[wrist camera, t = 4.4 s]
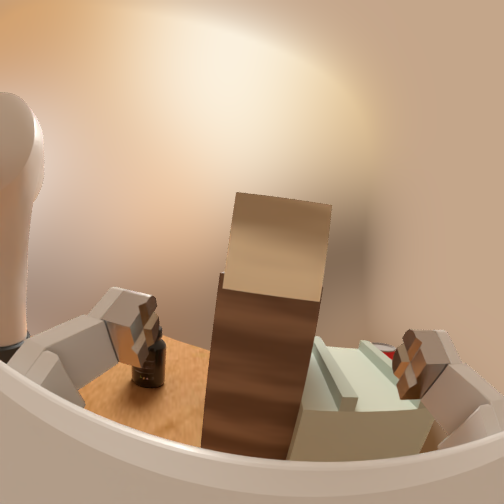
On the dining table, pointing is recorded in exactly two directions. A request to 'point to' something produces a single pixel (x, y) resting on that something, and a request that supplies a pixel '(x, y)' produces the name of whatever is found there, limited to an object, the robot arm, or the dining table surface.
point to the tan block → (277, 246)
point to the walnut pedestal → (257, 372)
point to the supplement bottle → (152, 365)
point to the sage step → (355, 409)
